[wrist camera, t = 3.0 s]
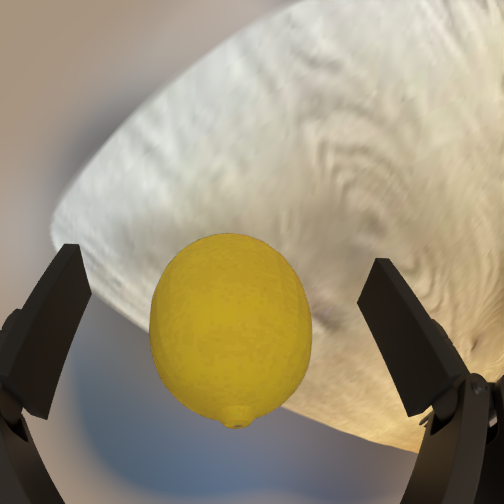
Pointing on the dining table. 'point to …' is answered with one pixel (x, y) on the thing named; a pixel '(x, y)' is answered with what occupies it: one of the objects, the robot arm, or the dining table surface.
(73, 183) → the dining table surface
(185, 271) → the lemon
